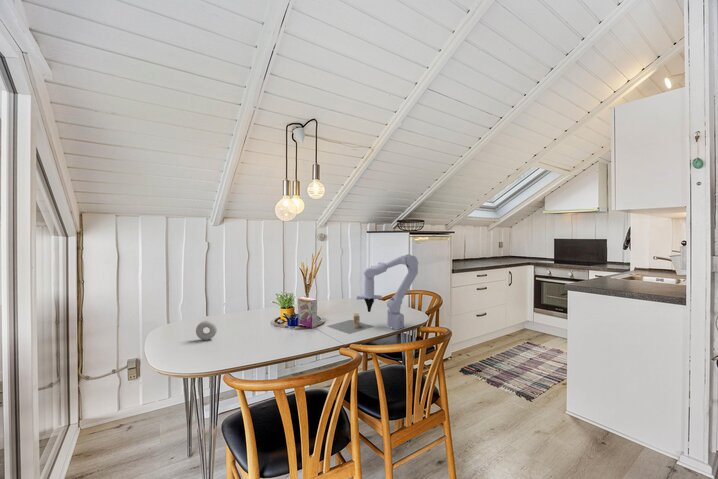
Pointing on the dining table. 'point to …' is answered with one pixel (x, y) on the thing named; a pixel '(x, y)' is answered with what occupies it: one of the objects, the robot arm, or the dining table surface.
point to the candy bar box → (307, 312)
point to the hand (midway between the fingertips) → (369, 311)
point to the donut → (206, 335)
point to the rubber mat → (349, 327)
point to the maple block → (356, 321)
